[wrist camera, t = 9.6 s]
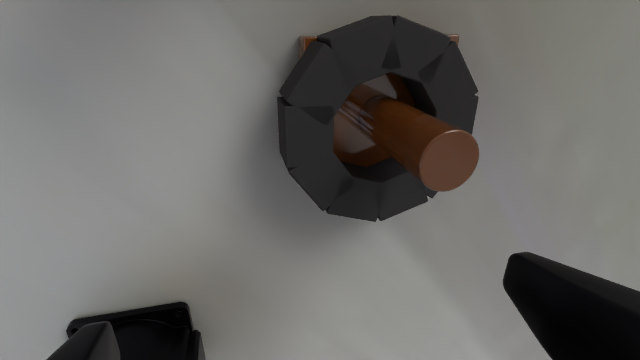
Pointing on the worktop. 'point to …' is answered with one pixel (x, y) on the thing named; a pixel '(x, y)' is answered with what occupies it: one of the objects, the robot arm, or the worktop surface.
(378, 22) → the rubber ring
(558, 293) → the robot arm
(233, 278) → the worktop surface
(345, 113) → the copper peg on plate
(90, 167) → the worktop surface
